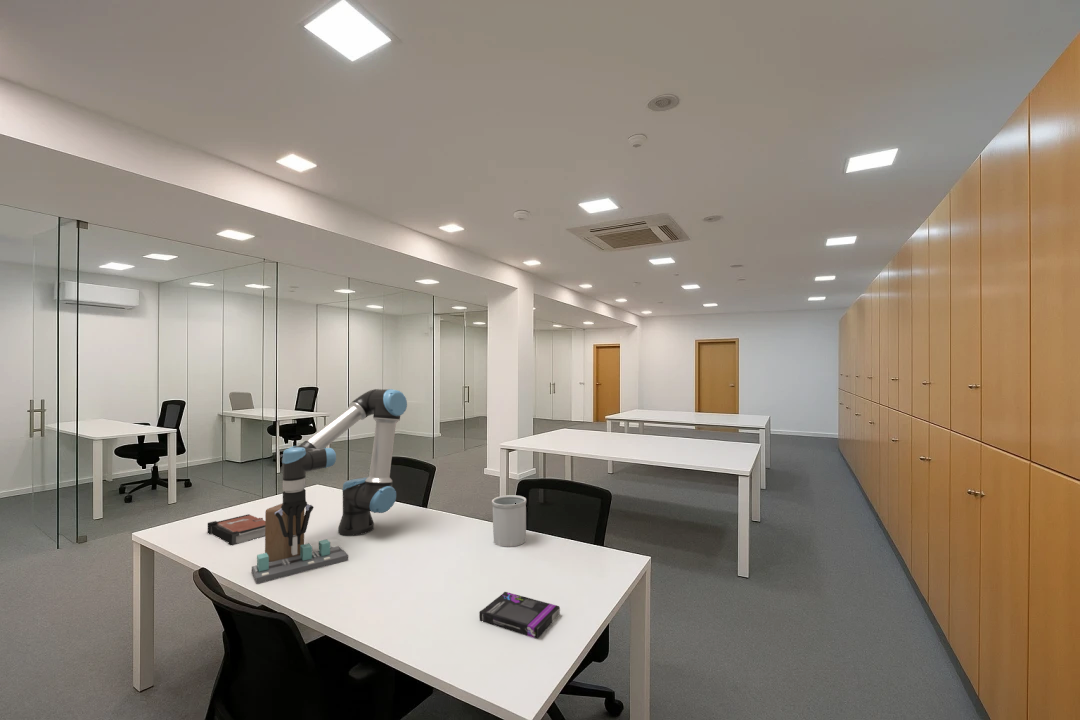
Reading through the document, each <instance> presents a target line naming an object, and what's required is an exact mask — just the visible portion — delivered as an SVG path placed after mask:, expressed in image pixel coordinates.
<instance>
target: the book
mask: <svg viewBox="0 0 1080 720" xmlns="http://www.w3.org/2000/svg"><path fill="white" fill-rule="evenodd" d="M208 533H209V535H212V536H214V535H215V537H216V536H217V537H216V538H218V537H219V538H218V539H220V538H221V540H222V541H224V542H226V543H228V545H230V546H231V545H232V546H233V547H234V546H236V545H238V544H239V545H240V544H243V543H247V542H249V541H254V540H257V538H258V539H260V538H265V520H264V518H263V517H256V516H254V515H252V514H248V513H247V514H244V515H240V516H236V517H232V518H227V519H224V520H219V521H216V520H215V521H209V522H207V534H208ZM253 539H254V540H253Z"/></svg>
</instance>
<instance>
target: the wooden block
mask: <svg viewBox="0 0 1080 720" xmlns="http://www.w3.org/2000/svg"><path fill="white" fill-rule="evenodd" d="M282 504H283V502H282V503H280V504H276V505H274V506H271V507H269V508H267V509H266V510H265V520H264V521H265V537H264V553H267V554H268V556H269V562H273V561H277V560H281V559H286V558H290V557H294V556H298V555H300V545H303V544H305V533H303V534H301V536H300V544H298V545H297V555H292V553H291V546H289V545H288V537H284V536H283V534H282V531H281V528H280V524H279V521H278V518H277V516H276V515H275V514H274V512H275V511H278V510H280V509H281V506H282ZM305 512H306V508H305V509H304V510H303V512H302V513H301V528H302V524H303V520H304V516H305ZM282 513H283V515H282V518H283V521H284V525H285V528H286V532H287V533H288V515H287V514H286V513H285V512H284V511H283V512H282ZM293 535H296V516H295V515H294V516H293Z"/></svg>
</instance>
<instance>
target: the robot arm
mask: <svg viewBox="0 0 1080 720" xmlns="http://www.w3.org/2000/svg"><path fill="white" fill-rule="evenodd" d="M407 407H408V401H407V398H406V395H405V394H404V393H403V392H402V391H400V390H397V389H392V388H391V389H390V388H388V389H386V388H385V389H381V388H380V389H379V388H377V389H376V388H375V389H371V390H368V391H366V392H365V393H362V394H360V395H359V396H358V397H357V398H355V399H354V400H353V401H351V402H350V403H349V405H348V407H347V408H345V410H343V411H342V412H341V413H339V414H338V415H337V416H336V417H334V418H333V419H331V420H330V421H329V422H327V424H325V425H324V426H322V427H321V428H320V429H319V430H317V431H316V432H315V433H314V434H312V435H311V436H309V437H308V438H307V439H305V440H304V441H303V442H302V443H300V444H299V445H293V446H290V447H289V448H286V449H284V450H283V452H282V453H283V454H282V460H281V463H282V491H283V492H282V503H283V504H282V503H281V504H282V506H281V509H280V510H278V511H275V512H274V514H275V515H276V516H277V518H278V521H279V524H280V528H281V531H282V534H283V536H284V537H288V545H289V546H291V553H292V555H297V545H298V544H300V536H301V534H303V533H304V534H305V533H306V532H307V528H308V524H309V520H310V517H311V513H312V511H313V510H314V506H313V505H312V504H308V502H307V500H306V497H307V496H306V476H307V475H306V473H307V472H312V471H316V470H320V469H321V470H322V469H327V468H330V467H332V466H334V465H335V463H336V461H337V453H336V451H335V450H334V449H333V448H332V447H328V446H329V445H330V444H332V443H333V442H334V441H335V440H337V439H338V438H339V437H340V436H342V435H343V434H344V433H346V432H347V431H348V430H349V429H351V427H353V426H354V425H355V424H357V423H358V422H359V421H360V420H362V421H363V420H365V419H366V418H368V417H369V416H372V415H373V416H372V417H373V420H374V421H375V428H374V436H373V437H374V438H373V446H372V454H371V460H370V467H369V476H368V477H360V478H359V477H358V478H353V479H349V480H346V481H344V482H343V484H342V516H341V519H340V522H339V524H338V528H337V529H338V531H337V533H338V534H339V535H341V536H347V537H351V536H353V537H354V536H360V535H364V534H365V535H366V534H367V533H371V532H372V531H373V530H374V529H375V522H374V519H373V516H372V514H371V513H374V514H375V513H376V514H384V513H386V512H388V511H389V510H391V508H392V507H393V506H394V505H395V503H396V500H397V490H396V489H395V488H394V487H393V479H392V478H391V477H390V476H391V468H392V467H391V466H392V459H393V453H394V452H393V450H394V444H395V443H394V442H395V434H396V425H397V423H398V422H399V421H400V420H401V416H402V415H404V414H405V412H406V410H407ZM304 509H305V511H304V520H303V524H302V528H301V513H302V512H303V510H304ZM283 511H284V512H285V513H286V514H287V515H288V533H287V532H286V528H285V525H284V521H283V518H282V515H283V513H282V512H283ZM294 515H295V516H296V535H293V516H294Z"/></svg>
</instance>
